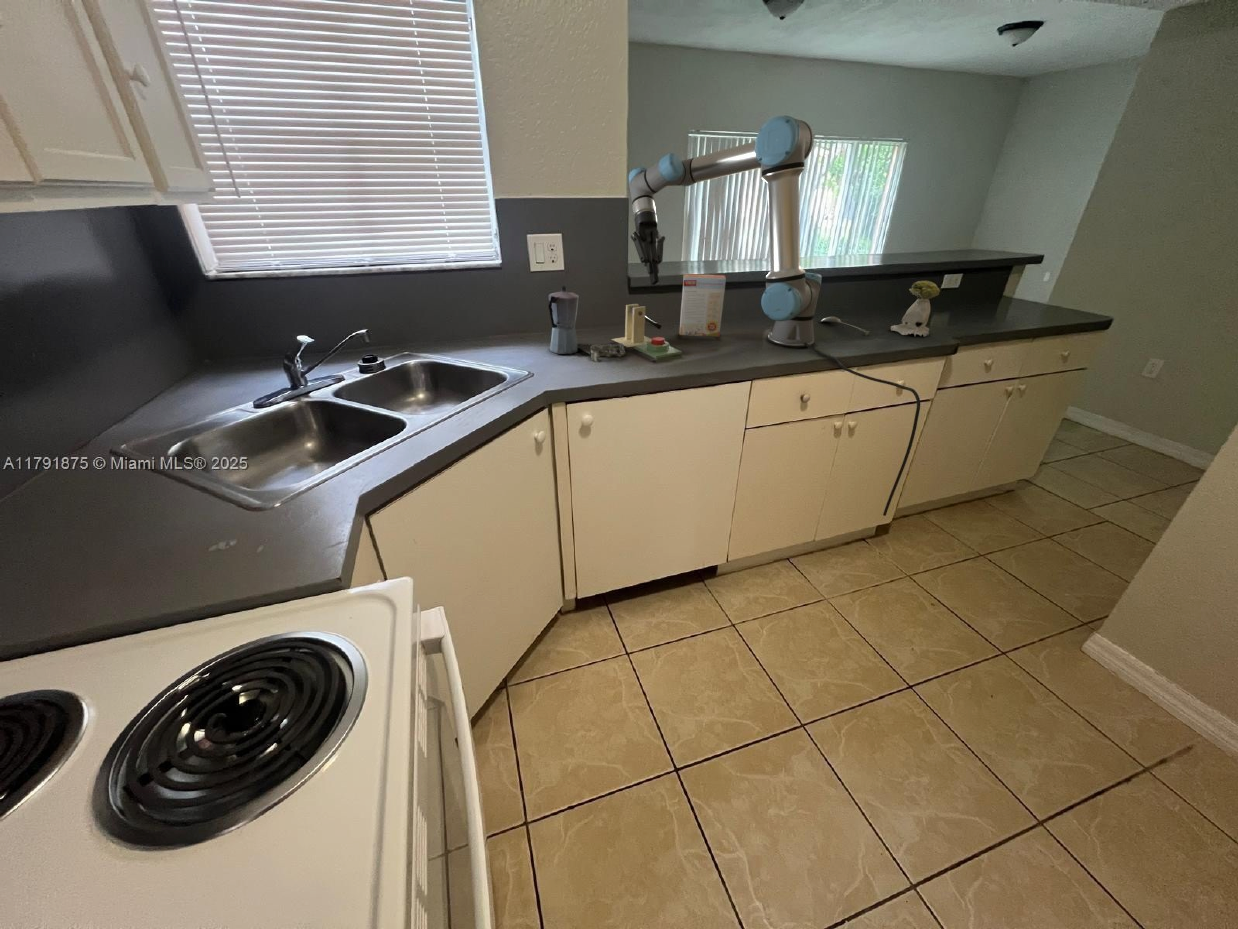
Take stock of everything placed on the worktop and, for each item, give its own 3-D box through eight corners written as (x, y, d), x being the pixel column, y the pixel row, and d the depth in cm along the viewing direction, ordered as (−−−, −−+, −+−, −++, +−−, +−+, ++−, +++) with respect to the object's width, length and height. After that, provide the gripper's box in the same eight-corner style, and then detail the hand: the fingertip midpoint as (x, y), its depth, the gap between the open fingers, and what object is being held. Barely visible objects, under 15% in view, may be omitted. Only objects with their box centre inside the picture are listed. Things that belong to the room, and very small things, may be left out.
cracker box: (717, 335, 175) (725, 274, 164) (719, 340, 170) (726, 277, 159) (678, 334, 176) (683, 272, 165) (678, 338, 171) (684, 276, 160)
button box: (681, 358, 153) (682, 345, 151) (655, 363, 148) (656, 350, 146) (658, 347, 161) (659, 336, 159) (633, 352, 157) (634, 340, 155)
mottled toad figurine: (590, 361, 148) (590, 348, 146) (590, 354, 155) (589, 341, 153) (625, 361, 149) (625, 348, 147) (623, 353, 155) (623, 341, 153)
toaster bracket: (640, 338, 170) (642, 300, 164) (657, 345, 163) (659, 307, 157) (611, 343, 165) (611, 304, 158) (627, 351, 158) (628, 311, 151)
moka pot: (586, 346, 161) (585, 283, 151) (567, 360, 149) (565, 292, 138) (560, 343, 164) (558, 280, 154) (539, 356, 151) (535, 290, 141)
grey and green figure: (908, 326, 191) (924, 277, 181) (936, 335, 180) (954, 283, 171) (884, 328, 187) (899, 278, 178) (911, 337, 177) (928, 284, 168)
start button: (666, 344, 152) (667, 339, 151) (656, 346, 150) (656, 341, 150) (659, 341, 155) (659, 336, 154) (649, 343, 153) (649, 337, 152)
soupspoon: (828, 322, 197) (816, 324, 195) (830, 313, 196) (817, 315, 193) (873, 334, 180) (860, 336, 177) (875, 325, 178) (862, 327, 176)
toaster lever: (650, 327, 168) (653, 320, 167) (659, 330, 164) (662, 324, 164) (626, 311, 159) (630, 304, 159) (635, 314, 156) (638, 307, 155)
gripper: (655, 224, 172) (664, 289, 170) (623, 219, 165) (632, 286, 164) (666, 212, 165) (676, 279, 164) (634, 206, 159) (644, 275, 157)
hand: (654, 282), depth 164 cm, fingers closed
